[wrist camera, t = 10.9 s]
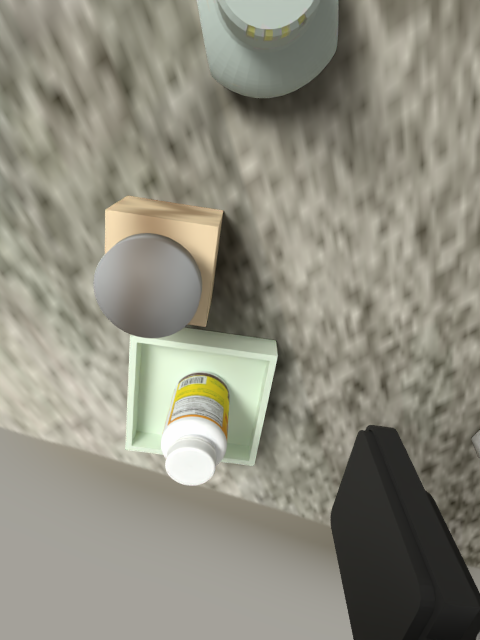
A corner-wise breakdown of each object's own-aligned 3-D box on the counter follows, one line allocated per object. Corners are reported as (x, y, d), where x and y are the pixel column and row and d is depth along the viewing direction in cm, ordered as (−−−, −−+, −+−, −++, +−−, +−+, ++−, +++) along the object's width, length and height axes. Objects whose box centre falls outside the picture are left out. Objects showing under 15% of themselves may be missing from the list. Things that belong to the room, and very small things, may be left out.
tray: (275, 340, 41) (277, 356, 38) (253, 445, 46) (253, 466, 43) (138, 320, 40) (130, 335, 37) (132, 430, 46) (125, 449, 43)
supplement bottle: (209, 423, 44) (198, 503, 35) (164, 396, 43) (140, 472, 33) (241, 387, 42) (239, 463, 33) (195, 358, 41) (179, 428, 31)
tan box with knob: (223, 210, 35) (214, 241, 26) (211, 297, 39) (200, 352, 30) (127, 195, 35) (85, 222, 26) (124, 285, 38) (86, 336, 29)
